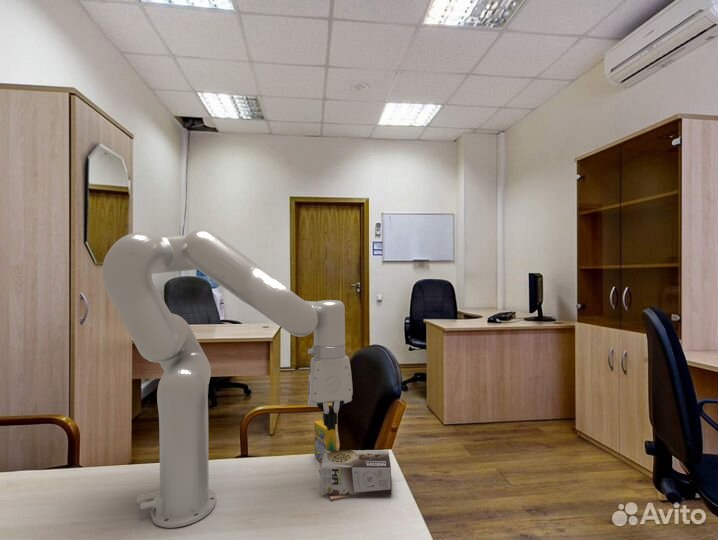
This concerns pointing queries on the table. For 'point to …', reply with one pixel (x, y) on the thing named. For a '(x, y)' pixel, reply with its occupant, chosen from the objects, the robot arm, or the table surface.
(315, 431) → the crayon box
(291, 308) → the robot arm
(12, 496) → the table surface
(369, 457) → the coffee box
